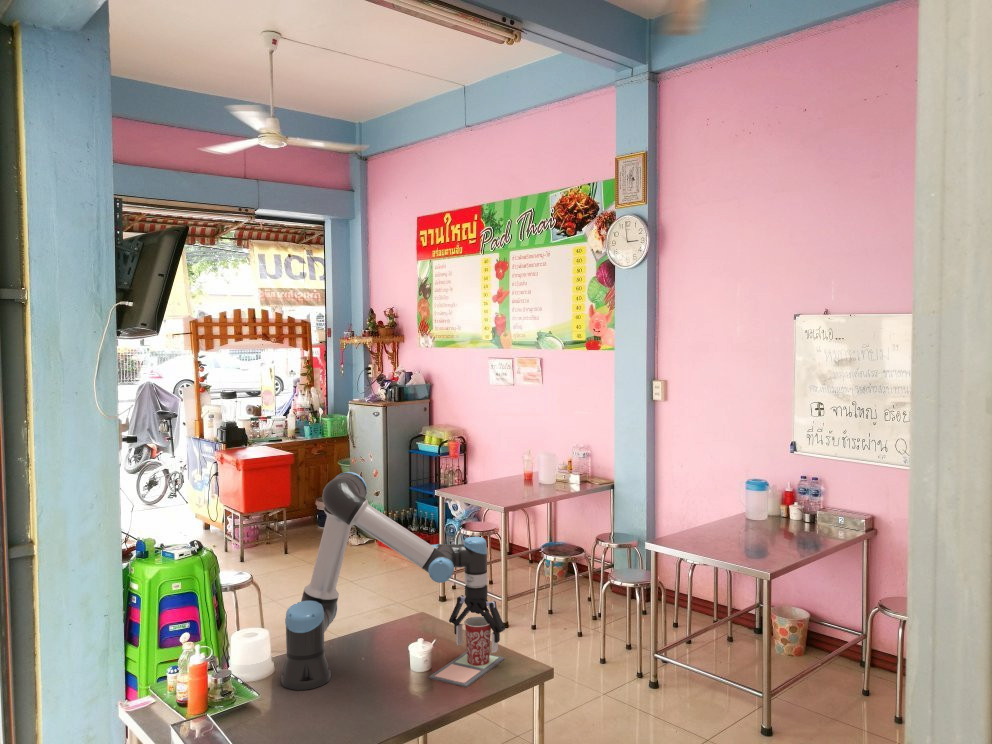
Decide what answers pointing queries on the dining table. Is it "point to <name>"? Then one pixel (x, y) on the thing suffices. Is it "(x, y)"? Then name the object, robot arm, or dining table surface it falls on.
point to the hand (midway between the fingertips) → (476, 647)
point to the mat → (464, 671)
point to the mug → (477, 640)
